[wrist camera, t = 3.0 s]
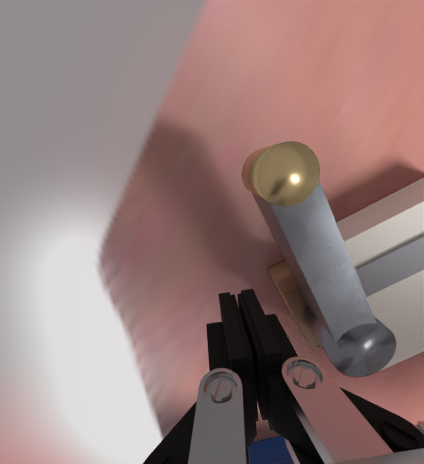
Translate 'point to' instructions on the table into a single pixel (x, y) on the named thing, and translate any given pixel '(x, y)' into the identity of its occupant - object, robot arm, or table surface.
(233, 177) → the table surface
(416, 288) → the door panel
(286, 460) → the milk carton
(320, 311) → the latch bar
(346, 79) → the table surface
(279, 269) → the jamb block
